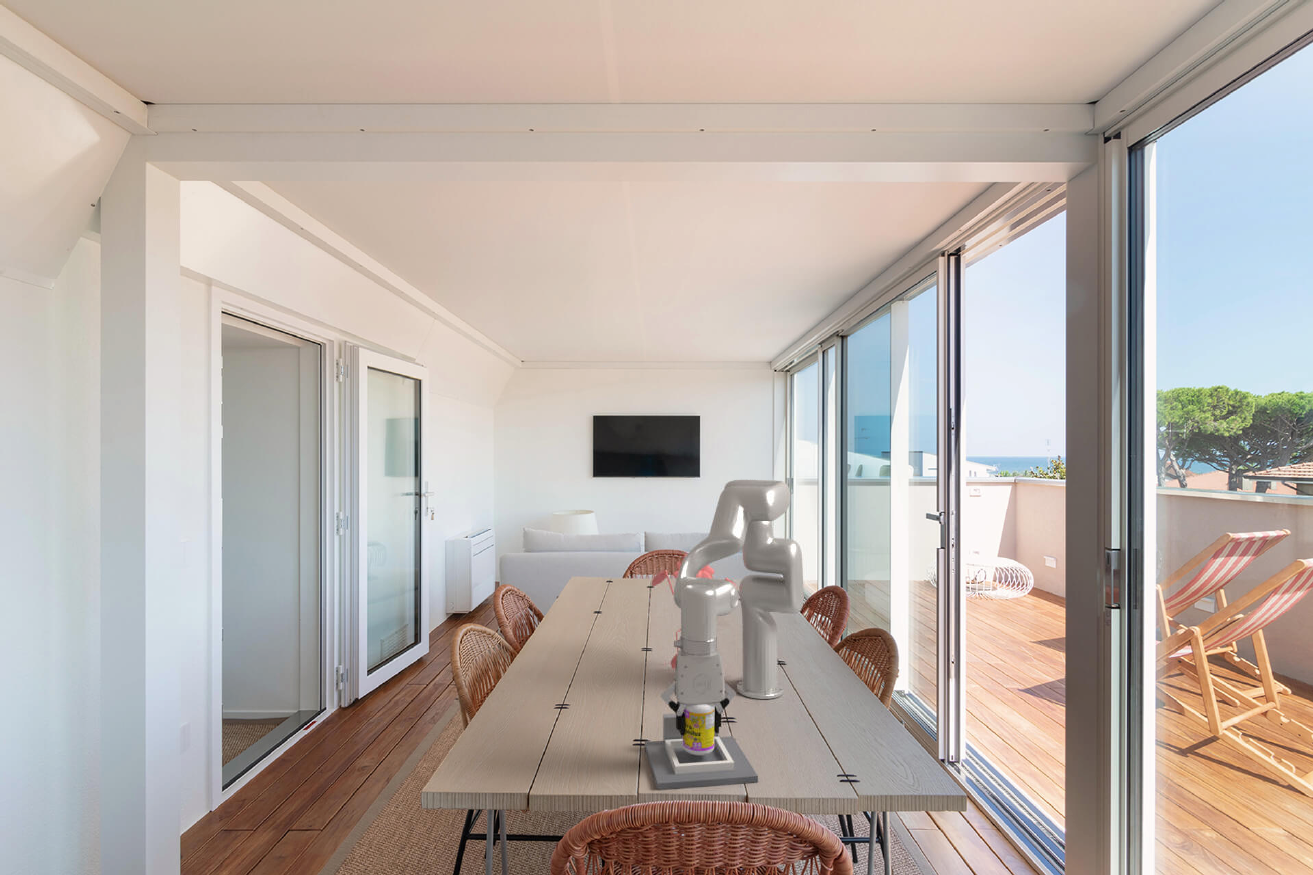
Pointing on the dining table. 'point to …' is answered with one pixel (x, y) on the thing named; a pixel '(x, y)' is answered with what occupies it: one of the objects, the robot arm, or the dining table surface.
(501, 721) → the dining table surface
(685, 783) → the dock
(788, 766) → the dining table surface
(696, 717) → the supplement bottle
